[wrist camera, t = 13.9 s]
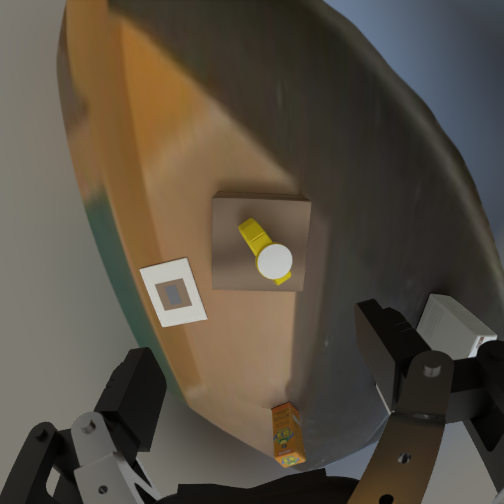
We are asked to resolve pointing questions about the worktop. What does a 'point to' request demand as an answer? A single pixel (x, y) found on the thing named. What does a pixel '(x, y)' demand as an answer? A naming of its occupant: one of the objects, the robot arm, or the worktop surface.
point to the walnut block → (273, 223)
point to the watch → (267, 252)
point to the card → (174, 292)
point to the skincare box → (452, 328)
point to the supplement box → (287, 435)
